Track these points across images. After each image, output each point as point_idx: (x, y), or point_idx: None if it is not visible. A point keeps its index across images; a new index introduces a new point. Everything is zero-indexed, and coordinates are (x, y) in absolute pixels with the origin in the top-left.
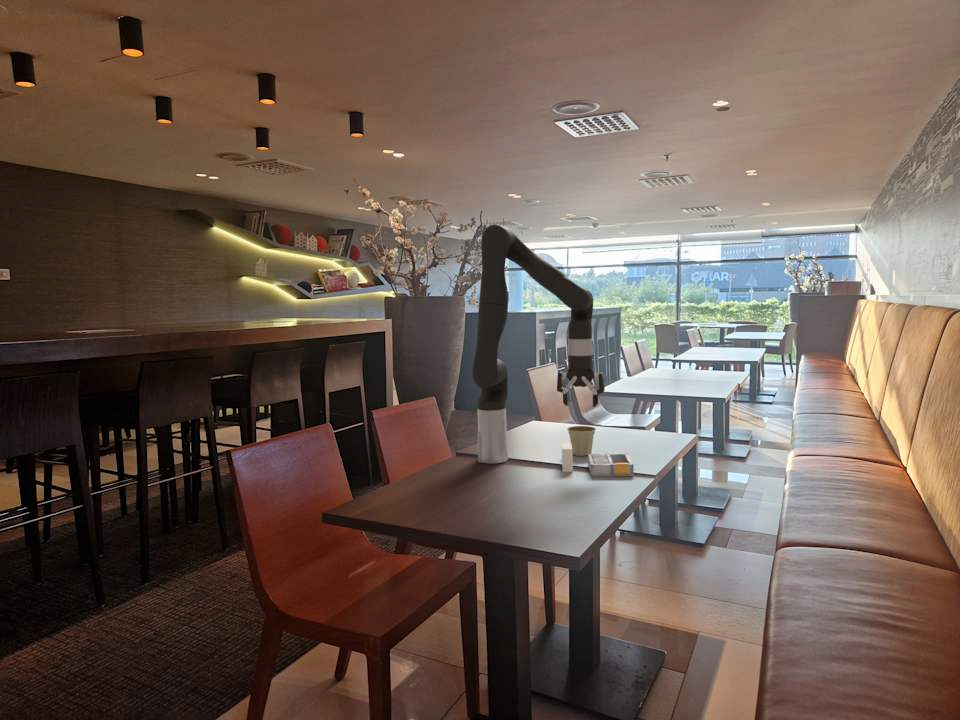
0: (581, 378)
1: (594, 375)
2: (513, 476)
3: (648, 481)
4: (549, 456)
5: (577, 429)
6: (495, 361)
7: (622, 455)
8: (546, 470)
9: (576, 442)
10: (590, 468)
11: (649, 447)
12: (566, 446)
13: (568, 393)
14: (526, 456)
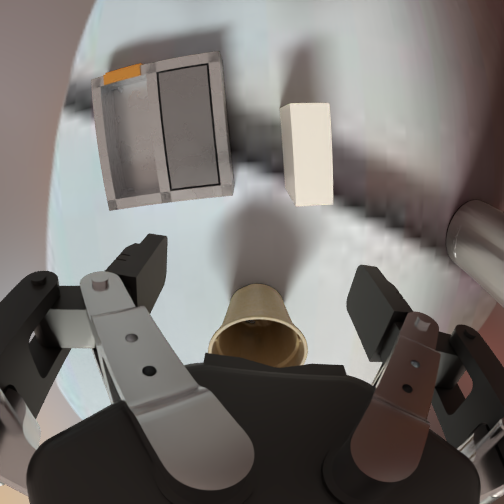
0: (255, 464)
1: (28, 464)
2: (432, 79)
3: (78, 50)
4: (346, 278)
5: None
6: None
7: (123, 197)
8: (358, 126)
9: (273, 304)
10: (222, 79)
11: None
12: (314, 146)
13: (370, 357)
14: (402, 275)
